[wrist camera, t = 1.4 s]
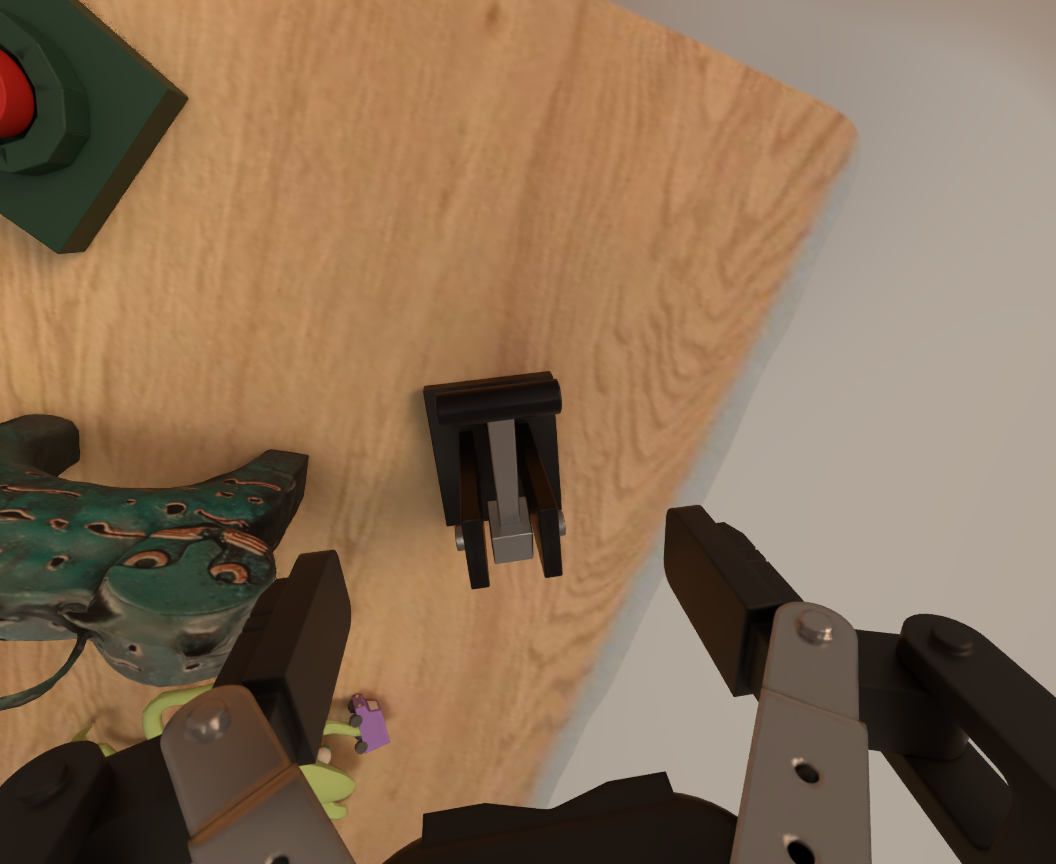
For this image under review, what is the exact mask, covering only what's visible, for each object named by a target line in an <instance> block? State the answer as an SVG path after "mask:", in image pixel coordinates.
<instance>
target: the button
mask: <svg viewBox="0 0 1056 864" xmlns="http://www.w3.org/2000/svg"><path fill="white" fill-rule="evenodd" d="M33 115H34V97H33V93H32V89H31V87H30V84H29V82H28V80H27V78H26V76H25V75H24V73H23V72H22V70H21V69H20V68H19V66H18V65H17V64H16V63H15V62H14V61H13V60H12V59H11V58H10V57H9V56H8V55H7V54H6V53H5V52H3V51H2V50H1V49H0V138H7V137H12V136H15V135H18V134H20V133H21V132H23V131H24V130H25V129H26V128H27V127H28V126H29V124H30V122H31V120H32V118H33Z"/></svg>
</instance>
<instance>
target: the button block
mask: <svg viewBox="0 0 1056 864" xmlns="http://www.w3.org/2000/svg"><path fill="white" fill-rule="evenodd" d="M0 49H1V50H2V51H3V52H5V53H6V54H7V55H8V56H9V57H10V58H11V59H12V60H13V61H14V62H15V63H16V64H17V65H18V66H19V68H20V69H21V70H22V72H23V73H24V75H25V76H26V78H27V80H28V82H29V84H30V87H31V89H32V93H33V97H34V115H33V118H32V120H31V122H30V124H29V126H28V127H27V128H26V129H25V130H24V131H23V132H21V133H20V134H18V135H15V136H12V137H7V138H0V214H2V215H3V216H5V217H6V218H7V219H9V220H10V221H12V222H13V223H15V224H16V225H17V226H19V227H20V228H22V229H23V230H25V231H26V232H27V233H29V234H30V235H32V236H33V237H35V238H36V239H37V240H39V241H40V242H42V243H43V244H44V245H46V246H47V247H49V248H50V249H52V250H53V251H54V252H56V253H57V254H65V253H76V252H84V251H85V250H86V249H87V247H88V246H89V244H90V243H91V241H92V240H93V238H94V237H95V235H96V234H97V232H98V231H99V229H100V228H101V226H102V225H103V223H104V222H105V221H106V219H107V218H108V216H109V215H110V213H111V212H112V210H113V209H114V207H115V206H116V204H117V203H118V201H119V200H120V198H121V197H122V195H123V194H124V192H125V191H126V190H127V188H128V187H129V185H130V184H131V182H132V181H133V179H134V178H135V176H136V175H137V173H138V172H139V170H140V169H141V167H142V166H143V164H144V163H145V161H146V160H147V159H148V157H149V156H150V154H151V153H152V151H153V150H154V148H155V147H156V145H157V144H158V142H159V141H160V139H161V138H162V136H163V135H164V133H165V132H166V130H167V129H168V128H169V126H170V125H171V123H172V122H173V120H174V119H175V117H176V116H177V114H178V113H179V111H180V110H181V108H182V107H183V105H184V104H185V102H186V101H187V99H188V97H187V96H186V95H185V94H184V93H183V92H182V91H180V90H179V89H178V88H177V87H176V86H175V85H174V84H173V83H171V82H170V81H169V80H168V79H167V78H166V77H165V76H163V75H162V74H161V73H160V72H159V71H158V70H157V69H156V68H154V67H153V66H152V65H151V64H150V63H149V62H148V61H146V60H145V59H144V58H143V57H142V56H141V55H140V54H139V53H137V52H136V51H135V50H134V49H133V48H132V47H131V46H130V45H128V44H127V43H126V42H125V41H124V40H123V39H122V38H120V37H119V36H118V35H117V34H116V33H115V32H114V31H113V30H111V29H110V28H109V27H108V26H107V25H106V24H105V23H103V22H102V21H101V20H100V19H99V18H98V17H97V16H96V15H94V14H93V13H92V12H91V11H90V10H89V9H88V8H87V7H85V6H84V5H83V4H82V3H81V2H80V1H79V0H0Z"/></svg>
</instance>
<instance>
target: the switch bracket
mask: <svg viewBox="0 0 1056 864" xmlns="http://www.w3.org/2000/svg"><path fill="white" fill-rule="evenodd" d="M550 379H553V376H552V374H551V372H550V371H548V372H539V373H531V374H523V375H514V376H506V377H498V378H489V379H481V380H473V381H464V382H456V383H448V384H439V385H431V386H424V390H423V394H424V400H425V405H426V411H427V417H428V422H429V428H430V434H431V439H432V445H433V451H434V456H435V462H436V468H437V473H438V479H439V485H440V491H441V496H442V502H443V508H444V513H445V519H446V525H447V526H454V525H456V526H455V539H456V546H457V550H458V551H463V550H465V553H466V559H467V565H468V571H469V577H470V583H471V589H479V588H486V587H489V586H490V582H489V571H488V561H487V550H486V539H485V528H484V521H488V520H489V518H488V510H487V502H489V501H496V500H497V499H496V491H495V482H494V474H493V466H492V457H491V449H490V441H489V432H488V424H487V423H481V424H473V425H465V426H457V427H449V428H440V427H439V424H438V420H437V414H436V406H435V394H437V393H443V392H451V391H459V390H467V389H476V388H484V387H492V386H500V385H509V384H517V383H525V382H533V381H542V380H550ZM514 427H515V443H516V459H517V475H518V491H519V497H526V499H527V504H528V510H529V515H530V519H531V524H532V528H533V532H534V536H535V540H536V544H537V548H538V552H539V556H540V560H541V564H542V568H543V572H544V576H545V578H550V577H556V576H562V574H563V573H562V559H561V544H560V536H564V535H565V534H566V528H565V520H564V516H563V512H562V511H561V510H562V504H561V490H560V475H559V460H558V445H557V431H556V416H555V414H551V415H544V416H536V417H528V418H520V419H514ZM558 510H559V511H558Z"/></svg>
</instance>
